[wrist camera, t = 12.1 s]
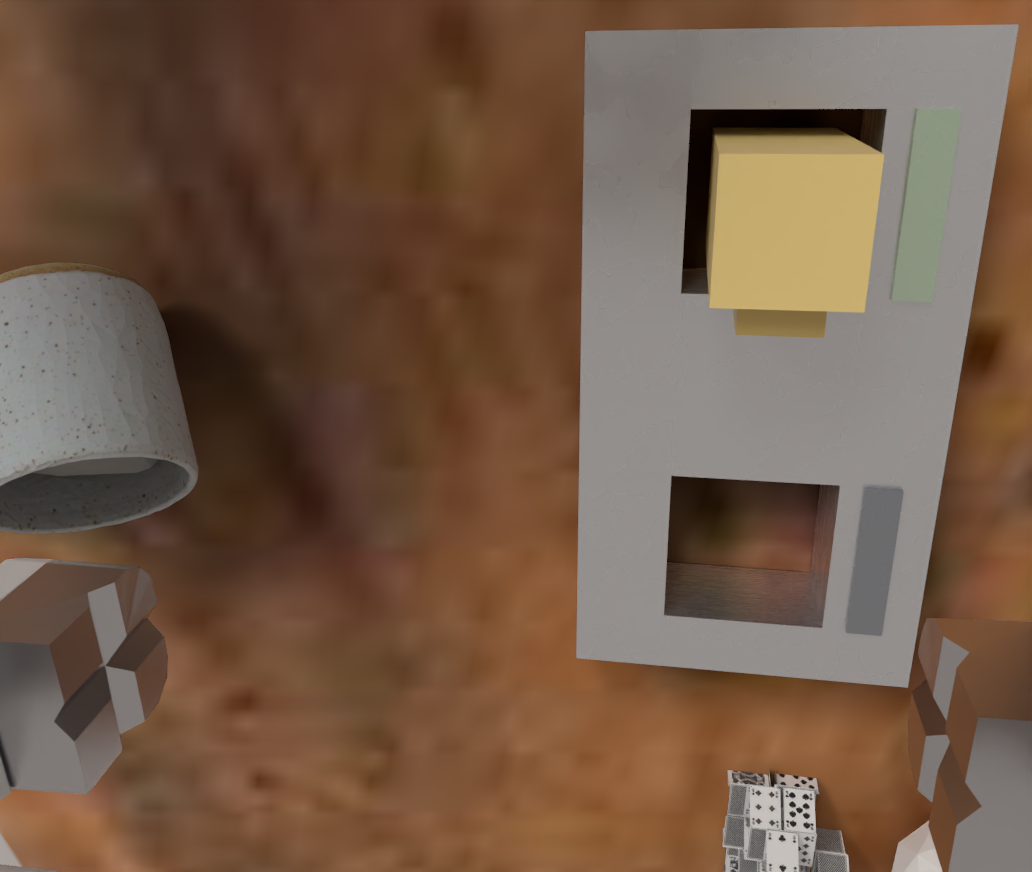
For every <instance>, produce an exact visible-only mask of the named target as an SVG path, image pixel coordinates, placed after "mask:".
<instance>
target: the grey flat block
mask: <svg viewBox="0 0 1032 872" xmlns="http://www.w3.org/2000/svg"><path fill="white" fill-rule="evenodd" d="M1018 27H1019V24H1014V25H950V26H885V27H820V28H756V29H691V30H626V31H585V82H584V153H583V224H582V295H581V366H580V437H579V508H578V579H577V650H576V658H580V659H592V660H603V661H614V662H625V663H636V664H648V665H659V666H670V667H681V668H693V669H704V670H715V671H726V672H737V673H749V674H760V675H771V676H782V677H793V678H805V679H816V680H827V681H838V682H849V683H861V684H872V685H883V686H894V687H905V688H908V683H909V677H910V671H911V666H912V660H913V654H914V648H915V642H916V636H917V630H918V624H919V618H920V612H921V606H922V600H923V594H924V588H925V582H926V576H927V570H928V564H929V558H930V552H931V546H932V540H933V534H934V528H935V522H936V516H937V510H938V504H939V499H940V493H941V487H942V481H943V475H944V469H945V463H946V457H947V451H948V445H949V439H950V433H951V427H952V421H953V415H954V409H955V403H956V397H957V391H958V385H959V379H960V373H961V367H962V361H963V355H964V349H965V343H966V337H967V332H968V326H969V320H970V314H971V308H972V302H973V296H974V290H975V284H976V278H977V272H978V266H979V260H980V254H981V248H982V242H983V236H984V230H985V224H986V218H987V212H988V206H989V200H990V194H991V188H992V182H993V176H994V170H995V165H996V159H997V153H998V147H999V141H1000V135H1001V129H1002V123H1003V117H1004V111H1005V105H1006V99H1007V93H1008V87H1009V81H1010V75H1011V69H1012V63H1013V57H1014V51H1015V45H1016V39H1017V33H1018ZM691 109H864V111H863V119H862V128H861V136H860V142H862V143H864V144H866V145H868V146H870V147H871V148H873V149H875V150H877V151H879V152H881V153H882V154H884V161H883V169H882V177H881V185H880V193H879V201H878V209H877V217H876V225H875V233H874V241H873V249H872V257H871V265H870V273H869V281H868V289H867V297H866V305H865V313H861V312H827V317H826V326H825V335H824V338H810V337H781V336H751V335H736V334H735V328H734V321H733V309H725V308H709V294H708V278H707V268H682V266H683V247H684V229H685V210H686V191H687V172H688V153H689V134H690V116H691ZM671 476H683V477H700V478H717V479H734V480H752V481H769V482H786V483H804V484H820V489H819V498H818V507H817V515H816V524H815V532H814V541H813V550H812V558H811V567H810V572H796V571H782V570H768V569H754V568H741V567H727V566H713V565H699V564H685V563H671V562H667V549H668V530H669V511H670V492H671Z"/></svg>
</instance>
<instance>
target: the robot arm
mask: <svg viewBox="0 0 1032 872" xmlns="http://www.w3.org/2000/svg"><path fill="white" fill-rule="evenodd" d="M156 604H157V599H156V595H155V591H154V587H153V583H152V579H151V576H150V575H149V574H148V573H146V572H145V571H144V570H143V569H141V568H140V567H133V566H121V565H109V564H97V563H85V562H73V561H56V560H53V559H33V558H16V559H7V560H5V561H3V562H2V563H1V564H0V799H2V798H3V797H5V796H7V795H8V794H10V793H11V789H24V790H38V791H51V792H65V793H79V794H88V793H89V792H90V791H91V789H92V788H93V787H94V785H95V784H96V783H97V782H98V780H99V779H100V778H101V777H102V775H103V774H104V773H105V772H106V770H107V769H108V768H109V766H110V765H111V764H112V763H113V761H114V760H115V759H116V758H117V756H118V755H119V754H120V752H121V751H122V750H123V747H122V741H121V734H122V733H123V732H125V731H127V730H129V729H131V728H133V727H135V726H137V725H139V724H140V723H142V722H144V721H145V720H146V719H147V718H148V716H149V715H150V714H151V712H152V711H153V710H154V708H155V707H156V705H157V704H158V703H159V700H160V697H161V694H162V691H163V688H164V685H165V682H166V679H167V663H168V655H167V649H166V644H165V638H164V636H163V635H162V634H161V633H160V632H159V630H158V629H157V628H156V627H155V626H154V625H153V624H152V623H151V621H150V620H149V619H148V617H149V615H150V614H151V612H152V610H153V609H154V607H155V605H156ZM918 656H919V659H920V662H921V664H922V667H923V670H924V673H925V676H926V680H925V681H924V682H923V683H922V684H921V685H919V686H918V687H917V688H916V689H915V690H914V691H913V692H912V695H911V703H910V711H909V719H908V750H909V756H910V762H911V769H912V773H913V776H914V780H915V783H916V787H917V790H918V791H919V792H920V793H921V794H922V795H924V796H925V797H926V798H927V799H928V800H930V801H931V802H932V807H931V813H930V819H929V825H928V827H929V830H930V833H931V836H932V840H933V843H934V846H935V849H936V852H937V856H938V859H939V862H940V865H941V868H942V871H943V872H1032V622H1023V621H997V620H972V619H946V618H927V619H926V622H925V625H924V627H923V630H922V633H921V639H920V645H919V651H918ZM0 872H59V871H51V870H42V869H34V868H25V867H17V866H9V865H0Z"/></svg>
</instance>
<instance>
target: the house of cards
mask: <svg viewBox="0 0 1032 872" xmlns="http://www.w3.org/2000/svg"><path fill="white" fill-rule="evenodd" d="M727 774H728V786H730V795H729V804H728V813H727V815H729V816H726V819H725V828H723V847H727V850H726V859H725V865H724V872H809V871H810V867H811V872H849V859H848V855H847V854H845V848H844V843H843V838H842V833H841V830H833V829H825V828H817V827H816V818H815V801H816V795H817V794H819V788H818V783H817V778H809V777H800V776H792V775H783V774H776V771H775V778H774V786H773V787H771V781H770V772H769V775H766V774H757V773H749V772H740V771H732V770H727ZM814 851H815V852H814Z"/></svg>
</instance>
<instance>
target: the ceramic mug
mask: <svg viewBox="0 0 1032 872" xmlns="http://www.w3.org/2000/svg"><path fill="white" fill-rule="evenodd" d="M198 473H199V469H198V465H197V460H196V455H195V451H194V447H193V443H192V440H191V435H190V431H189V426H188V422H187V417H186V413H185V408H184V404H183V399H182V395H181V391H180V387H179V383H178V380H177V376H176V371H175V366H174V362H173V357H172V352H171V346H170V341H169V338H168V334H167V330H166V327H165V324H164V321H163V319H162V317H161V315H160V312H159V310H158V308H157V305H156V302H155V301H154V299H153V298H152V296H151V295H150V293H149V292H148V290H146V289H145V288H144V287H143V286H142V285H141V284H139V283H138V282H137V281H136V280H134V279H132V278H130V277H128V276H126V275H124V274H122V273H120V272H118V271H115V270H111V269H108V268H104V267H100V266H95V265H90V264H79V263H58V262H56V263H48V264H39V265H33V266H27V267H22V268H19V269H16V270H12V271H9V272H6V273H3V274H1V275H0V531H6V532H13V533H23V534H35V533H36V534H51V533H66V532H77V531H85V530H89V529H94V528H98V527H103V526H109V525H116V524H120V523H124V522H127V521H131V520H134V519H137V518H140V517H143V516H147V515H150V514H152V513H154V512H156V511H160V510H162V509H165V508H167V507H169V506H170V505H172V504H173V503H175V502H177V501H179V500H180V499H182V498H183V497H185V496H186V495H187V494H189V493H190V492H191V491H192V489H193V488H194V486H195V484H196V482H197V479H198Z"/></svg>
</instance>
